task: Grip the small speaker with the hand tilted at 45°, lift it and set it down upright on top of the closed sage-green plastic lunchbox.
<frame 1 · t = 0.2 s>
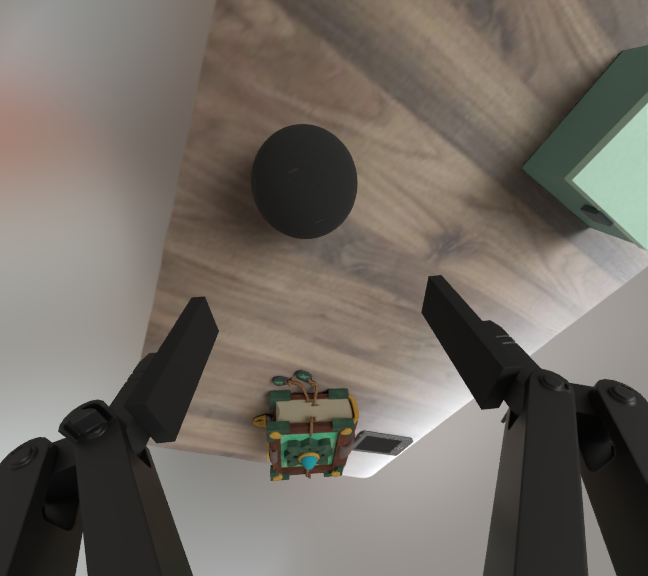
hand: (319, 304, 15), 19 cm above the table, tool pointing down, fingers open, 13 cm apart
lunchbox: (603, 154, 30), on the table
speaker: (303, 176, 29), on the table
book: (303, 409, 54), on the table
smartphone: (380, 441, 65), on the table
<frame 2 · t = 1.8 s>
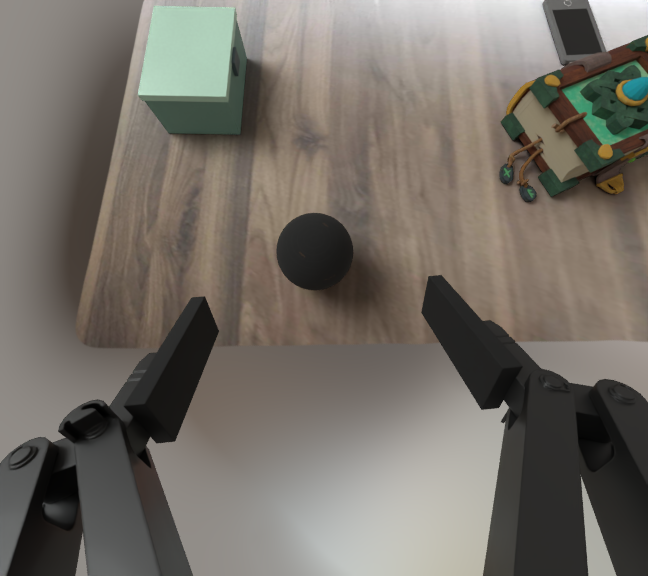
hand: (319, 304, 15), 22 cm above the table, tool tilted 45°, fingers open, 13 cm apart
lunchbox: (209, 94, 44), on the table
speaker: (315, 263, 38), on the table
book: (563, 149, 43), on the table
smartphone: (571, 33, 47), on the table
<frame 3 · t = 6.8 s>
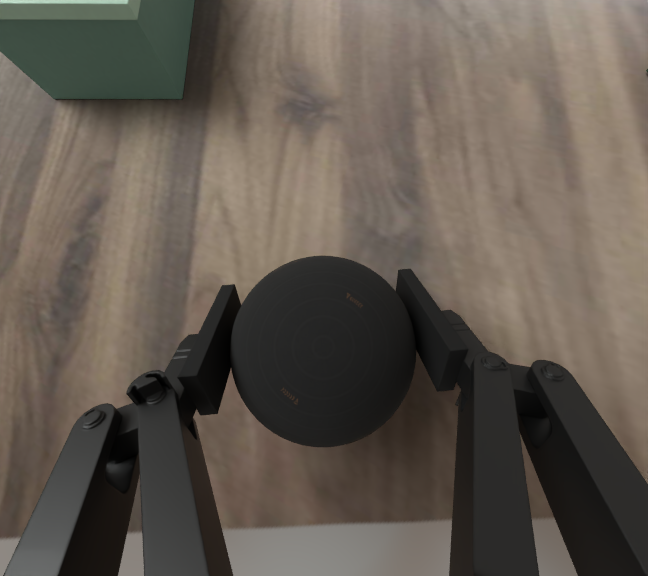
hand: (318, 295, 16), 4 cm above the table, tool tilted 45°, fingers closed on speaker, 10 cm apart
lunchbox: (130, 32, 25), on the table
speaker: (323, 342, 19), on the table, touching gripper
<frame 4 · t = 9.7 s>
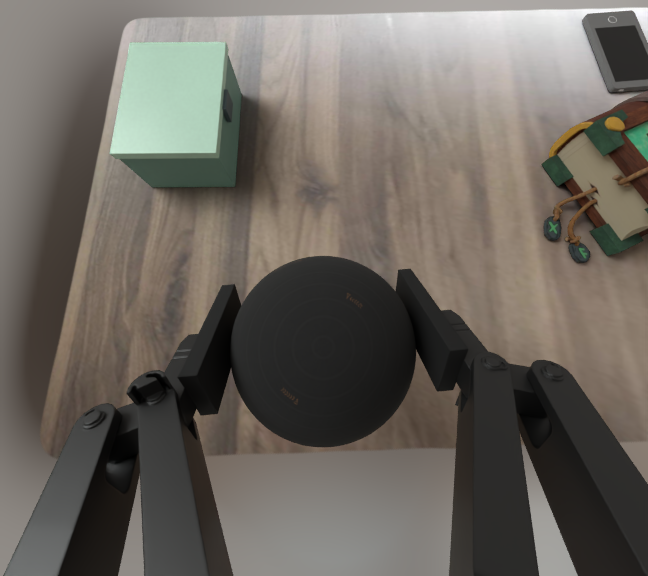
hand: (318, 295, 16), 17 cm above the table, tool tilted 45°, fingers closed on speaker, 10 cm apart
lunchbox: (198, 139, 38), on the table
speaker: (323, 342, 19), point 13 cm above the table, touching gripper
book: (617, 195, 36), on the table
smartphone: (618, 54, 41), on the table
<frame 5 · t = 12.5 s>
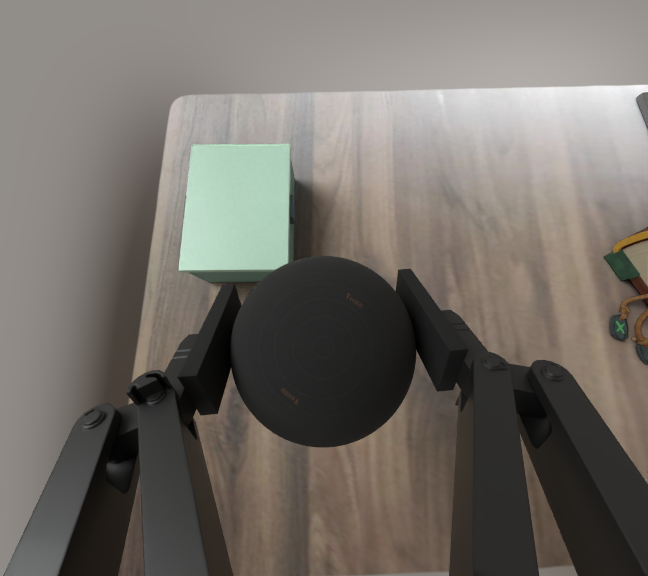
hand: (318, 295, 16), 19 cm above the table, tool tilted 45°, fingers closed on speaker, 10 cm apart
lunchbox: (253, 228, 37), on the table
speaker: (323, 342, 19), point 15 cm above the table, touching gripper
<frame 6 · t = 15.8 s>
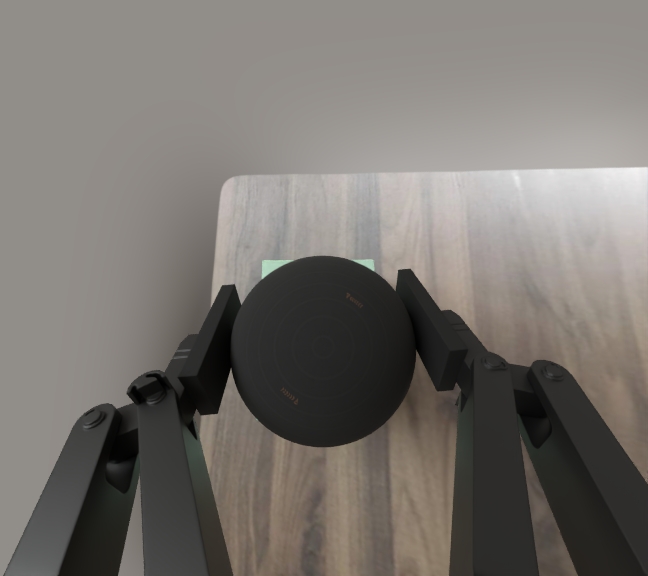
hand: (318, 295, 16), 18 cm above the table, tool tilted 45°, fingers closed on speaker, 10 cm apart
lunchbox: (319, 335, 33), on the table
speaker: (323, 342, 19), point 14 cm above the table, touching gripper
when the fingers open (11 cm above the table, at t = 18.4 s): speaker stays where it is, resting on lunchbox.
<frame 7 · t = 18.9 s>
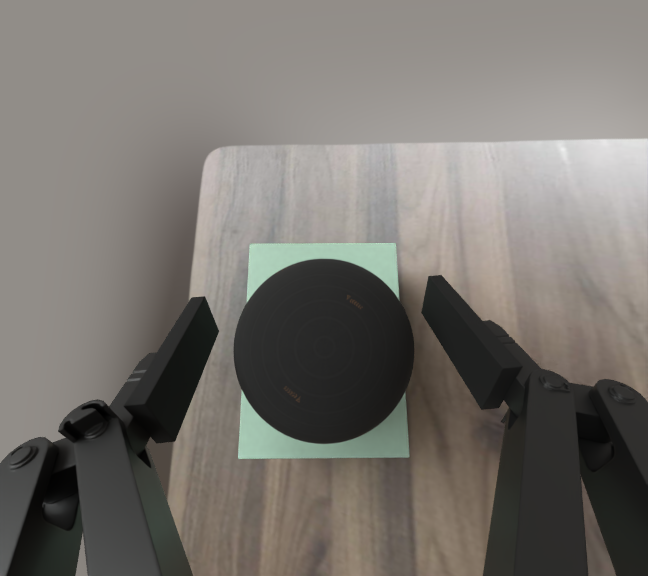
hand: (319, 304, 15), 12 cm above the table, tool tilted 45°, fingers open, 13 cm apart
lunchbox: (323, 341, 27), on the table
speaker: (323, 342, 20), point 7 cm above the table, touching lunchbox
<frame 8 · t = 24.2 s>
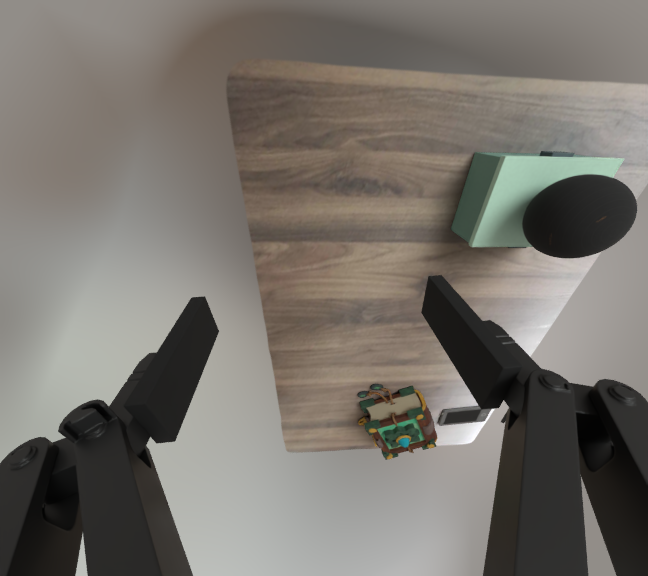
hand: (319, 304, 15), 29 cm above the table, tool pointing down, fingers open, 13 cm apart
lunchbox: (508, 194, 41), on the table
speaker: (540, 206, 36), point 7 cm above the table, touching lunchbox
book: (388, 407, 74), on the table
smartphone: (463, 414, 79), on the table
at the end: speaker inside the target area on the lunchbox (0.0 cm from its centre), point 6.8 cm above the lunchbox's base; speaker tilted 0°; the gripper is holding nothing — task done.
